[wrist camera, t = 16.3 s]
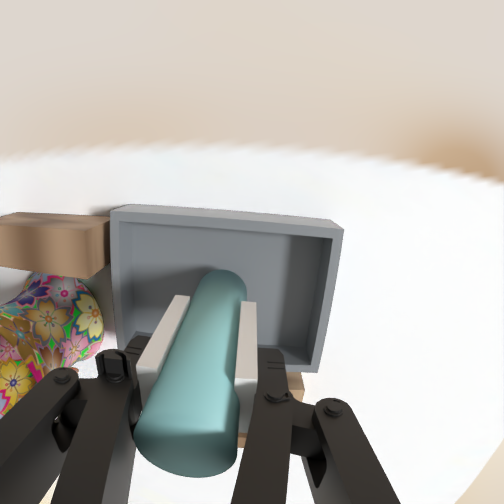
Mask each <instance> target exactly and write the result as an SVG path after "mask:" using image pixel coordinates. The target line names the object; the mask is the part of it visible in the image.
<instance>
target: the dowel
mask: <svg viewBox="0 0 504 504" xmlns="http://www.w3.org/2000/svg"><path fill="white" fill-rule="evenodd" d="M241 301H247V288H246V285H245V283H244V281H243V280H242V279H241V278H240V277H239V276H238V275H237V274H235V273H234V272H231V271H229V270H223V269H220V270H214V271H211V272H209V273H208V274H206V275H205V276H204V277H203V278H202V279H201V281H200V283H199V285H198V287H197V289H196V291H195V294H194V296H193V298H192V300H191V302H190V306H189V308H188V310H187V313H186V315H185V317H184V319H183V322H182V324H181V326H180V328H179V331H178V333H177V335H176V337H175V340H174V342H173V344H172V347H171V349H170V351H169V353H168V356H167V358H166V360H165V363H164V365H163V367H162V370H161V372H160V374H159V377H158V379H157V380H156V381H155V383H154V385H153V387H152V389H151V392H150V394H149V396H148V398H147V401H146V403H145V406H144V408H143V410H142V413H141V415H140V417H139V420H138V422H137V424H136V427H135V429H134V434H133V437H134V442H135V445H136V447H137V449H138V450H139V452H140V453H141V454H142V455H143V456H144V457H145V458H146V459H147V460H148V461H149V462H151V463H152V464H154V465H155V466H157V467H159V468H161V469H162V470H165V471H167V472H170V473H173V474H176V475H180V476H185V477H193V478H202V477H211V476H215V475H218V474H221V473H223V472H225V471H227V470H228V469H229V468H230V467H231V466H232V465H233V464H234V463H235V461H236V458H237V448H238V431H239V415H240V402H239V398H238V396H237V394H236V392H235V390H234V384H235V371H236V359H237V347H238V336H239V324H240V312H241Z"/></svg>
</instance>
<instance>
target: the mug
mask: <svg viewBox="0 0 504 504" xmlns="http://www.w3.org/2000/svg"><path fill="white" fill-rule="evenodd" d="M103 336H104V323H103V318H102V314H101V311H100V309H99V306H98V304H97V302H96V300H95V298H94V297H93V295H92V294H91V292H90V291H89V290H88V289H87V287H86V286H85V285H84V284H83V283H82V282H81V281H80V280H78V279H77V278H73V277H66V276H59V275H52V274H46V273H39V272H35V273H33V274H32V275H31V276H30V277H29V279H28V280H27V282H26V283H25V286H24V289H23V291H22V292H21V293H20V294H19V295H18V296H17V297H16V298H14V299H13V300H11V301H10V302H8V303H6V304H3V305H1V306H0V419H1V418H2V417H3V416H4V415H5V414H6V413H7V412H8V411H9V410H10V409H11V408H12V407H13V406H14V405H15V404H16V403H17V402H18V401H19V400H20V399H21V398H22V397H23V396H24V395H25V394H26V393H28V392H29V391H30V390H31V389H32V388H33V387H34V386H35V385H36V384H37V383H38V382H39V381H40V380H41V379H42V378H43V377H44V376H45V375H47V374H48V373H49V372H50V371H52V370H53V369H56V368H59V367H68V368H70V367H71V366H72V365H74V364H75V363H76V362H78V361H83V360H86V359H88V358H90V357H92V356H93V355H94V354H95V353H96V352H97V351H98V350H99V348H100V346H101V343H102V341H103ZM71 368H72V369H73V370H75V371H76V372H77V373H78V371H79V370H78V369H77V368H73V367H71Z"/></svg>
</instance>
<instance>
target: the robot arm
mask: <svg viewBox="0 0 504 504" xmlns="http://www.w3.org/2000/svg"><path fill="white" fill-rule="evenodd" d="M189 306H190V296H182V295H175V297H174V298H173V300H172V302H171V304H170V305H169V307H168V309H167V311H166V312H165V314H164V316H163V318H162V319H161V321H160V323H159V325H158V326H157V328H156V330H155V332H154V333H153V335H152V337H148V336H141V335H138V336H136V337H135V338H133V339H131V340H130V342H129V343H128V345H127V347H126V348H125V349H124V351H123V350H118V349H108V350H103V351H101V352H100V353H98V354H97V355H96V356H95V359H96V365H97V370H98V377H97V378H91V379H84V378H79V376H78V373H77V372H76V371H75V370H73V369H72V368H68V367H59V368H56V369H53V370H52V371H50V372H49V373H48V374H47V375H45V376H44V377H43V378H42V379H41V380H40V381H39V382H38V383H37V384H36V385H35V386H34V387H33V388H32V389H31V390H30V391H29V392H28V393H26V394H25V395H24V396H23V397H22V398H21V399H20V400H19V401H18V402H17V403H16V404H15V405H14V406H13V407H12V408H11V409H10V410H9V411H8V412H7V413H6V414H5V415H4V416H3V417H2V418H1V419H0V504H39V503H40V501H41V500H42V499H43V497H44V496H45V494H46V493H47V491H48V490H49V488H50V487H51V485H52V484H53V483H54V481H55V480H56V478H57V477H58V475H59V474H60V476H59V478H58V481H57V485H56V488H55V491H54V494H53V497H52V500H51V504H128V496H129V490H130V483H131V476H132V470H133V464H134V458H135V452H136V445H135V442H134V437H133V434H134V429H135V427H136V424H137V422H138V420H139V416H140V414H141V411H142V410H143V408H144V406H145V403H146V401H147V398H148V396H149V394H150V392H151V389H152V387H153V385H154V383H155V381H156V380H157V379H158V377H159V374H160V372H161V370H162V367H163V365H164V363H165V360H166V358H167V356H168V353H169V351H170V349H171V347H172V344H173V342H174V340H175V337H176V335H177V333H178V331H179V328H180V326H181V324H182V322H183V319H184V317H185V315H186V313H187V310H188V308H189ZM234 390H235V392H236V394H237V396H238V398H239V402H240V415H239V431H238V432H241V433H247V437H246V442H245V446H244V450H243V455H242V459H241V463H240V467H239V472H238V476H237V480H236V484H235V488H234V492H233V496H232V500H231V504H286V494H287V483H288V472H289V460H290V453H291V454H295V455H299V456H301V458H302V462H303V465H304V469H305V472H306V476H307V479H308V482H309V486H310V489H311V492H312V496H313V499H314V503H315V504H401V503H400V501H399V499H398V498H397V496H396V494H395V492H394V490H393V488H392V486H391V484H390V482H389V480H388V478H387V476H386V474H385V472H384V470H383V468H382V466H381V464H380V462H379V461H378V459H377V457H376V455H375V453H374V451H373V449H372V447H371V445H370V443H369V441H368V439H367V437H366V435H365V434H364V432H363V430H362V428H361V426H360V424H359V422H358V420H357V418H356V416H355V414H354V413H353V411H352V409H351V407H350V406H349V405H348V404H347V403H346V402H344V401H342V400H340V399H336V398H325V399H321V400H320V401H318V402H317V403H316V405H310V404H306V403H303V402H300V401H298V400H296V399H295V398H294V397H293V394H292V393H291V392H290V391H289V388H288V381H287V374H286V367H285V361H284V355H283V354H282V353H281V352H280V350H279V349H274V348H258V347H257V315H256V302H247V301H241V312H240V324H239V336H238V347H237V359H236V371H235V384H234ZM57 416H58V417H57ZM56 418H57V419H56ZM55 419H56V420H55ZM60 472H61V473H60Z"/></svg>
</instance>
